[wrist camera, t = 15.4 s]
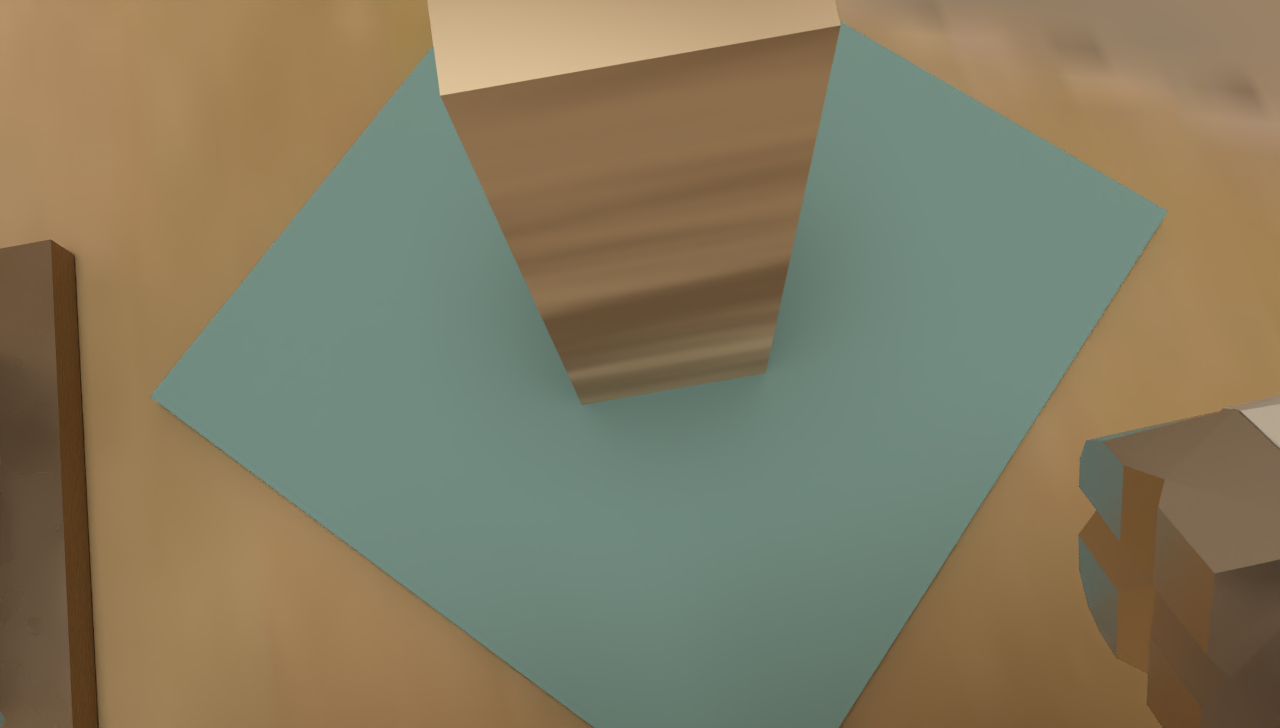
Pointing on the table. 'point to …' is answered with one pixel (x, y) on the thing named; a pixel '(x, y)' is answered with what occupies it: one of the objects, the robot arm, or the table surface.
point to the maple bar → (643, 169)
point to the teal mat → (672, 403)
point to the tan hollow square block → (43, 497)
